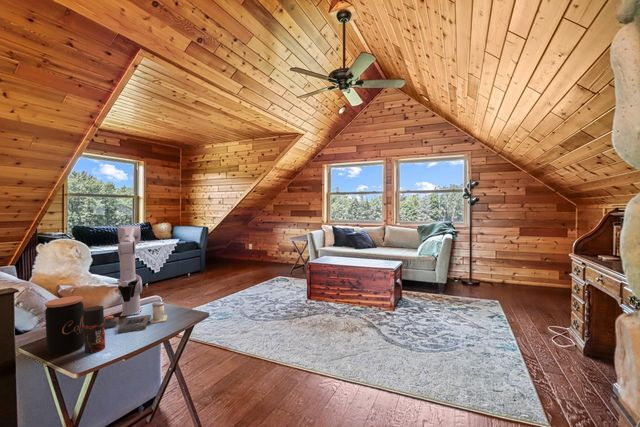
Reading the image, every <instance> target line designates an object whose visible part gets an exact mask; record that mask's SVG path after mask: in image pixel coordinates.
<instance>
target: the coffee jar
mask: <svg viewBox="0 0 640 427" xmlns="http://www.w3.org/2000/svg"><path fill="white" fill-rule="evenodd" d="M83 300H84V297H83V296H81V295H71V296H64V297H63V296H62V297H59V298H54V299H51V300H48V301H46V302H45V303H44V306H45V307H46V308H45V310H44V314H45V317H44V318H45V335H46V352H47V353H48V354H50V355H51V356H60V355H61V356H62V354H63V355H66V353H67V354H70V352H71V353H74V352H76V351H79V350H80V349H81V348H82V347H83V346H85V345H84V322H83V310H84V309H85V308H84V303H83ZM75 350H76V351H75ZM73 351H74V352H73Z"/></svg>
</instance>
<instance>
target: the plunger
mask: <svg viewBox="0 0 640 427" xmlns="http://www.w3.org/2000/svg"><path fill="white" fill-rule="evenodd" d="M113 318H115V317H114V315H107V316H104V319H105V322H108V321H113Z"/></svg>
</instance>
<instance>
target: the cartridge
mask: <svg viewBox="0 0 640 427" xmlns="http://www.w3.org/2000/svg"><path fill="white" fill-rule="evenodd" d="M151 306H152V318H153V320H161V319H164V315H165V302H164V301H155V302H152V304H151Z"/></svg>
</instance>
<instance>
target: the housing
mask: <svg viewBox="0 0 640 427" xmlns="http://www.w3.org/2000/svg"><path fill="white" fill-rule="evenodd" d="M150 318H151V319H152V315H151V314H148V315H147V314H145V315H140V316H139V315H138V316H132V317H131V316H129V317H125V318H124V320H123V321H122V322H121V324H120V326H119V327H118V328H117V333H118V334H122V333H128V332H134V331H141V330H146V329H147V327H148V325H149V323H150V322H151V319H150Z"/></svg>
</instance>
